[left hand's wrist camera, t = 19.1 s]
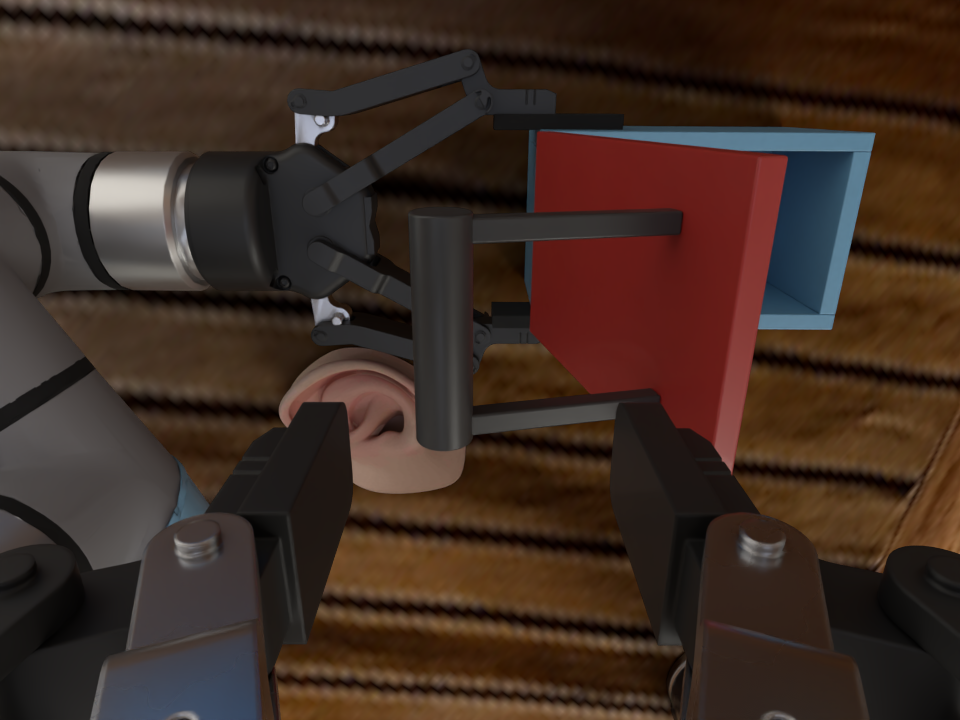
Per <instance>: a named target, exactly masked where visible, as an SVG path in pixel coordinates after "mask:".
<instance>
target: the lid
mask: <svg viewBox="0 0 960 720" xmlns="http://www.w3.org/2000/svg"><path fill="white" fill-rule="evenodd" d="M787 161H788V157H787V156H785V155H779V154H769V153H759V152H749V151H740V150H730V149H720V148H710V147H701V146H691V145H681V144H672V143H662V142H652V141H642V140H633V139H623V138H613V137H604V136H594V135H584V134H574V133H565V132H555V131H538V132H537V148H536V175H535V202H534V212H532V213H501V214H473V212H472V211H470V210H468V209H463V208H455V207H427V208H419V209H414V210H412V211H410V212H409V214H408V221H409V250H410V278H411V306H412V334H413V362H414V390H415V418H416V439H417V441H418V443H419V444H420V445H421V446H423V447H424V448H427V449H429V450H434V451H453V450H458V449H461V448H463V447H465V446H467V445H468V444H469V443H470V442H471V440H472V438H473V435H478V434H487V433H496V432H505V431H514V430H523V429H532V428H541V427H550V426H559V425H568V424H577V423H586V422H595V421H604V420H613V419H615V417H616V410H617V406H618V404H619V403H620V402H659V403H661V404H662V406H663V407H664V409H665V411H666V412H667V414H668V415H669V417H670V419H671V420H672V422H673V424H674V425H675V427H676V428H690V429H692V430H693V431H695V432H696V433H698V434H699V435H701V436H702V437H704V438H705V439H707V440H708V441H710V442H711V443H712V445H713V446H714V448H715V449H716V451H717V452H718V453H719V455H720V456H721V458H722V462H725V464H726V465H727V466H728V468H729V469H730V471H731V475H732V472H733V466H734V461H735V455H736V449H737V444H738V438H739V432H740V427H741V421H742V415H743V410H744V404H745V398H746V393H747V387H748V382H749V376H750V370H751V365H752V359H753V353H754V348H755V342H756V336H757V331H758V325H759V319H760V314H761V308H762V302H763V297H764V291H765V286H766V280H767V274H768V269H769V263H770V257H771V252H772V246H773V240H774V235H775V229H776V223H777V218H778V212H779V206H780V201H781V195H782V190H783V184H784V178H785V173H786V167H787ZM529 241H533V257H532V284H531V311H530V332H531V333H532V334H533V335H534V336H535V337H536V338H537V339H538V340H539V341H540V342H541V343H542V344H543V345H544V346H545V347H546V348H547V349H548V351H549V352H550V353H551V354H552V355H553V356H554V357H555V358H556V359H557V360H558V361H559V362H560V363H561V364H562V365H563V366H564V367H565V368H566V369H567V370H568V371H569V372H570V373H571V374H572V375H573V376H574V377H575V379H576V380H577V381H578V382H579V383H580V384H581V385H582V386H583V387H584V388H585V389H586V390H587V391H588V392H589V393H590V394H587V395H577V396H567V397H558V398H548V399H538V400H528V401H518V402H508V403H498V404H488V405H479V406H473V244H483V243H506V242H529Z"/></svg>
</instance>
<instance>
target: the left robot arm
mask: <svg viewBox="0 0 960 720" xmlns="http://www.w3.org/2000/svg"><path fill="white" fill-rule="evenodd" d="M610 493H611V502H612V507H613V511H614V514H615V517H616V520H617V523H618V526H619V529H620V532H621V535H622V538H623V541H624V544H625V547H626V550H627V553H628V556H629V559H630V562H631V565H632V568H633V571H634V574H635V577H636V580H637V583H638V586H639V590H640V593H641V596H642V599H643V602H644V605H645V608H646V611H647V614H648V617H649V620H650V623H651V626H652V629H653V632H654V635H655V638H656V641H657V644H658V645H682V646H683V649H684V651H685V653H684V654H683V655H682V656H681V657H680V658H679V659H678V660H677V661H676V662H675V663H674V665H673V666H672V668H671V669H670V671H669V674H668V677H667V691H668V695H669V698H670V701H671V704H672V707H671V712H672V715H673V718H674V720H960V554H958V553H955V552H951V551H948V550H944V549H940V548H935V547H928V546H905V547H901V548H898V549H896V550H894V551H892V552H891V553H890V554H889V556H888V558H887V561H886V565H885V568H884V572H883V573H878V572H873V571H868V570H863V569H858V568H853V567H849V566H844V565H839V564H835V563H830V562H826V561H823V560H820V559H818V555H817V552H816V549H815V547H814V546H813V544H812V543H811V541H810V540H809V539H808V538H807V537H806V536H805V535H804V534H802V533H801V532H800V531H798V530H797V529H795V528H794V527H792V526H790V525H788V524H787V523H784V522H782V521H780V520H777V519H775V518H772V517H769V516H765V515H761V514H760V513H759V511H758V510H757V509H756V507H755V506H754V504H753V503H752V501H751V500H750V498H749V497H748V495H747V494H746V493H745V491H744V490H743V488H742V487H741V485H740V484H739V482H738V481H737V480H736V478H735V477H734V475H731V471H730V469H729V468H728V466H727V465H726V464H725V462H722V458H721V456H720V455H719V453H718V452H717V451H716V449H715V448H714V446H713V445H712V443H711V442H710V441H708V440H707V439H705V438H704V437H702V436H701V435H699V434H698V433H696V432H695V431H693V430H692V429H690V428H676V427H675V425H674V424H673V422H672V420H671V419H670V417H669V415H668V414H667V412H666V411H665V409H664V407H663V406H662V404H661V403H659V402H620V403H619V404H618V406H617V410H616V417H615V428H614V439H613V450H612V462H611V473H610ZM352 494H353V471H352V459H351V448H350V436H349V425H348V414H347V408H346V405H345V403H344V402H303V403H302V404H301V406H300V408H299V409H298V411H297V413H296V414H295V416H294V418H293V419H292V421H291V423H290V424H289V426H288V428H273V429H271V430H270V431H268V432H267V433H265V434H264V435H262V436H261V437H259V438H258V439H256V440H255V441H253V442H252V444H251V445H250V447H249V448H248V450H247V451H246V453H245V454H244V456H243V457H242V461H239V463H238V464H237V466H236V467H235V469H234V470H233V475H230V476H229V478H228V479H227V481H226V482H225V484H224V485H223V486H222V488H221V489H220V491H219V492H218V494H217V495H216V497H215V498H214V500H213V501H212V503H211V504H210V506H209V507H208V509H207V510H206V511H205V513H204V514H200V515H195V516H191V517H188V518H185V519H183V520H180V521H178V522H176V523H173V524H172V525H170V526H168V527H166V528H165V529H163V530H162V531H160V532H159V533H158V534H156V535H155V536H154V537H153V538H152V539H151V540H150V541H149V543H148V544H147V546H146V547H145V549H144V552H143V555H142V560H139V561H134V562H130V563H126V564H121V565H116V566H111V567H106V568H102V569H97V570H92V571H87V572H82V573H80V572H79V569H78V565H77V562H76V558H75V556H74V554H73V552H72V551H71V550H70V549H68V548H66V547H64V546H60V545H56V544H36V545H29V546H24V547H19V548H15V549H12V550H8V551H6V552H3V553H0V720H281V716H280V705H279V695H278V684H277V676H276V670H275V663H276V660H277V658H278V655H279V652H280V649H281V647H282V644H307V641H308V638H309V635H310V632H311V628H312V625H313V622H314V619H315V616H316V613H317V610H318V607H319V604H320V601H321V597H322V594H323V591H324V588H325V585H326V582H327V579H328V576H329V573H330V570H331V567H332V563H333V560H334V557H335V554H336V551H337V548H338V545H339V542H340V539H341V536H342V533H343V529H344V526H345V523H346V520H347V517H348V514H349V511H350V507H351V502H352Z"/></svg>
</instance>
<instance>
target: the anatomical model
mask: <svg viewBox="0 0 960 720" xmlns="http://www.w3.org/2000/svg"><path fill="white" fill-rule="evenodd" d="M303 402H344V403H345V405H346V408H347V414H348V425H349V436H350V448H351V459H352V471H353V483H354V484H356V485H358V486H360V487H362V488H364V489H367V490H370V491H374V492H380V493H391V494H404V493H415V492H423V491H430V490H435V489H439V488H443V487H446V486H448V485H451V484H452V483H454V482H455V481H456V480H457V479H458V478H459V477H460V475H461V473H462V470H463V466H464V461H465V449H466V446H465V447H463V448H461V449H458V450H453V451H434V450H429V449H427V448H424V447H423V446H421V445H420V444H419V443H418V441H417V439H416V418H415V390H414V366H412V365H411V364H409V363H407V362H405V361H404V360H401V359H399V358H397V357H395V356H393V355H390V354H387V353H383V352H380V351H376V350H372V349H367V348H357V347H355V348H342V349H338V350H334V351H332V352H330V353H328V354H326V355H324V356H322V357H320V358H319V359H318V360H316V361H315V362H314V363H312V364H311V365H310V366H309V367H307V368H306V369H305V370H304V371H303V372H302V373H301V374H300V375H299V376H298V377H297V379H296V380H295V381H294V383H293V384H292V386H291V388H290V389H289V390H288V392H287V393H286V394H285V396H284V397H283V399H282V401H281V403H280V406H279V415H280V418H281V420H282V422H283V423H284V424H285V426H286V427H287V428H288V426H289V424H290V423H291V421H292V419H293V418H294V416H295V414H296V413H297V411H298V409H299V408H300V406H301V404H302V403H303Z"/></svg>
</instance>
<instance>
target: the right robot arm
mask: <svg viewBox="0 0 960 720" xmlns="http://www.w3.org/2000/svg"><path fill="white" fill-rule="evenodd" d="M460 81H462V84H463V87H464V90H465V93H466V97H464V98H463V99H461V100H459V101H458V102H456V103H455V104H453V105H451V106H450V107H448V108H446V109H445V110H443V111H442V112H440V113H438V114H437V115H435V116H434V117H432V118H430V119H429V120H427V121H425V122H424V123H422V124H421V125H419V126H417V127H416V128H414V129H412V130H411V131H409V132H408V133H406V134H404V135H403V136H401V137H399V138H398V139H396V140H395V141H393V142H391V143H390V144H388V145H386V146H385V147H383V148H382V149H380V150H378V151H377V152H375V153H374V154H372V155H370V156H368V157H367V158H365V159H363V160H362V161H360V162H358V163H357V164H355V165H354V166H352V167H350V166H348V165H347V164H345V163H344V162H343V161H341V160H340V159H338V158H337V157H336V156H334V155H333V154H332V153H330V152H329V151H327V150H326V149H325V148H323V147H322V146H320V145H319V138H320V136H321V135H322V134H323V133H325V132H329V131H332V130H334V129H335V128H336V127H337V125H338V116H343V115H351V114H356V113H359V112H363V111H366V110H369V109H372V108H376V107H379V106H382V105H385V104H389V103H392V102H395V101H398V100H401V99H405V98H408V97H411V96H414V95H418V94H421V93H424V92H427V91H430V90H434V89H437V88H440V87H443V86H447V85H450V84H453V83H456V82H460ZM287 101H288V106H289V107H290V109H291V110H292V111H293V112H295V135H296V144H294V145H292V146H291V147H289V148H287V149H286V150H283V151H277V152H206V153H204V154H203V155H201V156H200V157H199V156H197V155H196V154H194V153H192V152H190V151H116V152H102V153H79V152H42V151H0V553H3V552H6V551H8V550H12V549H15V548H19V547H24V546H29V545H36V544H56V545H60V546H64V547H66V548H68V549H70V550H71V551H72V552H73V554H74V556H75V558H76V562H77V565H78V569H79V572H80V573H82V572H87V571H92V570H97V569H102V568H106V567H111V566H116V565H121V564H126V563H130V562H134V561H139V560H142V555H143V552H144V549H145V547H146V546H147V544H148V543H149V541H150V540H151V539H152V538H153V537H154V536H155V535H156V534H158V533H159V532H160V531H162V530H163V529H165V528H166V527H168V526H170V525H172V524H173V523H176V522H178V521H180V520H183V519H185V518H188V517H191V516H195V515H200V514H204V513H205V511H206V510H207V509H208V507H209V506H210V505H209V504H208V502H207V501H206V500H205V498H204V497H203V495H202V494H201V493H200V491H199V490H198V488H197V487H196V486H195V484H194V483H193V481H192V480H191V478H190V477H189V476H188V474H187V473H186V470H185V468H184V466H183V465H182V464H181V463H180V462H179V461H178V460H177V459H176V458H175V457H174V456H172V455H170V454H169V452H168V451H167V450H166V449H165V448H164V447H163V446H162V444H161V443H160V442H159V441H158V440H157V439H156V438H155V436H154V435H153V434H152V433H151V432H150V431H149V430H148V428H147V427H146V426H145V425H144V424H143V423H142V422H141V420H140V419H139V418H138V417H137V416H136V415H135V414H134V412H133V411H132V410H131V409H130V408H129V407H128V406H127V404H126V403H125V402H124V401H123V400H122V399H121V398H120V396H119V395H118V394H117V393H116V392H115V391H114V390H113V388H112V387H111V386H110V385H109V384H108V383H107V382H106V380H105V379H104V378H103V377H102V376H101V375H100V374H99V372H98V371H97V370H96V368H94V366H93V365H92V364H91V363H90V361H89V360H88V359H87V358H86V357H85V355H84V354H83V353H82V351H81V350H80V349H79V348H78V347H77V346H76V344H75V343H74V342H73V341H72V340H71V338H70V337H69V336H68V335H67V334H66V333H65V331H64V330H63V329H62V328H61V327H60V325H59V324H58V323H57V322H56V321H55V320H54V318H53V317H52V316H51V315H50V314H49V312H48V311H47V310H46V309H45V308H44V307H43V305H42V304H41V303H40V302H39V301H38V299H37V298H39V297H42V296H44V295H46V294H49V293H52V292H57V291H67V290H178V291H202V290H205V289H207V288H208V287H209V286H210V285H211V286H212V287H214V288H215V289H217V290H221V291H294V292H297V293H300V294H302V295H304V296H306V297H308V298H311V302H312V308H313V313H314V319H315V327H314V329H313V330H312V332H311V338H312V341H313V342H314V343H315V344H317V345H320V346H329V345H345V344H353V345H357V346H361V347H365V348H368V349H372V350H376V351H380V352H383V353H387V354H391V355H395V356H398V357H402V358H406V359H410V360H413V334H412V326H411V325H408V324H404V323H400V322H397V321H393V320H389V319H386V318H382V317H378V316H375V315H371V314H366V313H359V312H352V309H351V308H350V307H349V306H348V305H346V304H343V303H339V302H337V301H336V300H334V298H333V297H332V293H334V292H335V291H336V290H338V289H339V288H340V287H342V286H343V285H344V284H346V283H347V282H348V281H351V282H353V283H355V284H357V285H359V286H361V287H363V288H364V289H366V290H368V291H370V292H373V293H379V294H381V295H383V296H385V297H387V298H389V299H391V300H393V301H395V302H396V303H398V304H400V305H402V306H404V307H406V308H408V309H409V310H411V311H412V306H411V278H410V273H408V272H406V271H404V270H403V269H401V268H399V267H397V266H396V265H394V264H393V262H391V261H390V260H389V259H387V258H385V257H383V256H382V255H380V254H378V253H377V251H378V249H379V248H380V239H379V232H378V229H377V226H376V223H375V216H376V211H377V207H378V204H377V192H374V189H373V187H372V185H371V184H372V183H373V182H375V181H376V180H378V179H380V178H381V177H383V176H384V175H386V174H388V173H389V172H391V171H393V170H394V169H396V168H398V167H399V166H401V165H403V164H404V163H406V162H408V161H409V160H411V159H412V158H414V157H416V156H417V155H419V154H421V153H422V152H424V151H426V150H427V149H429V148H431V147H432V146H434V145H436V144H437V143H439V142H440V141H442V140H444V139H445V138H447V137H449V136H450V135H452V134H454V133H455V132H457V131H459V130H460V129H462V128H464V127H465V126H467V125H469V124H470V123H472V122H473V121H475V120H477V119H478V118H480V117H482V116H483V115H494V118H493V128H494V130H541V129H552V130H623V121H624V114H555V112H556V93H553V92H551V91H549V90H547V89H496V88H494V87H492V86H491V85H490V84H489V83H488V81H487V79H486V77H485V74H484V71H483V68H482V65H481V62H480V58H479V56H478V54H477V53H476V52H475V51H473V50H470V49H465V50H462V51H459V52H455V53H452V54H449V55H446V56H443V57H439V58H436V59H433V60H430V61H427V62H424V63H420V64H417V65H414V66H411V67H408V68H405V69H401V70H398V71H395V72H392V73H389V74H385V75H382V76H379V77H376V78H373V79H370V80H366V81H363V82H360V83H357V84H354V85H351V86H347V87H344V88H341V89H338V90H335V91H324V90H312V89H294V90H292V91H291V92H290V93H289V95H288V99H287ZM530 311H531V305H530V302H492V317H490V316H489V315H488V313H487V312H485V313H484V314H483V313H481V312H479V311H477V310H475V309H473V374H474V373H476V372H477V371H478V369H479V364H480V361H481V359H482V356H483V354H484V351H485V350H486V348H487V347H488V346H490V345H492V344H519V343H521V344H526V343H528V344H537V343H540V341H539V340H538V339H537V338H536V337H535V336H534V335H533V334H532V333H531V332H530Z"/></svg>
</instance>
